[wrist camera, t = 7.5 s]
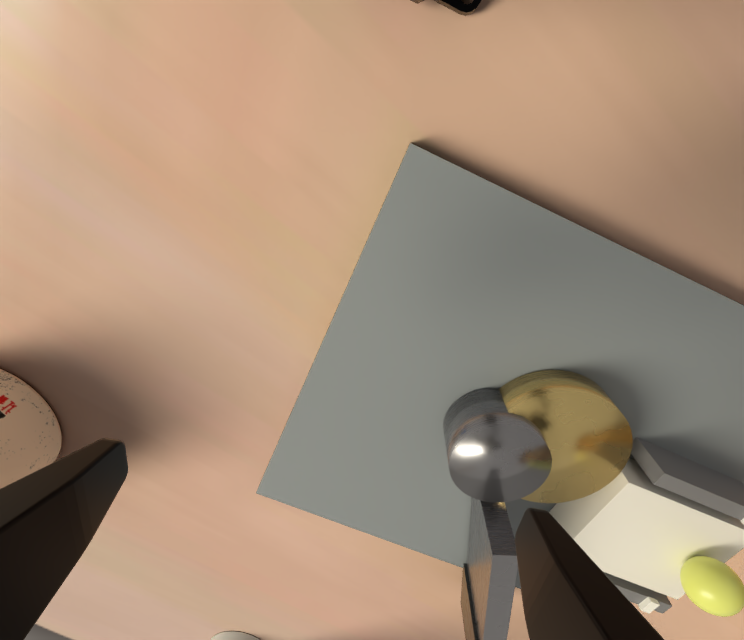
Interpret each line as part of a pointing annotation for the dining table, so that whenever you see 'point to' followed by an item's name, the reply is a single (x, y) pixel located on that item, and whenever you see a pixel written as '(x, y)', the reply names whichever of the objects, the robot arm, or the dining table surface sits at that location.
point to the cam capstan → (524, 472)
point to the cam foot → (658, 540)
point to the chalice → (233, 636)
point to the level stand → (502, 361)
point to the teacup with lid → (25, 430)
